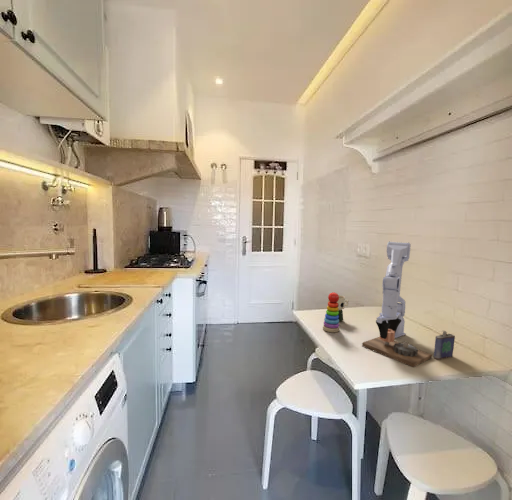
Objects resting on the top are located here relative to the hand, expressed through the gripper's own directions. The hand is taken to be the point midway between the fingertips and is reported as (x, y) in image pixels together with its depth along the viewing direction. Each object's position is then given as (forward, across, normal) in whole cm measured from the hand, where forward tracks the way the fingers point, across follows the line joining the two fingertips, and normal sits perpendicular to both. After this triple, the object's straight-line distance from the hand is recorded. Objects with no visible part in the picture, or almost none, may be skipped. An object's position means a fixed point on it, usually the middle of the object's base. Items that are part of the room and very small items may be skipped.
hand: (387, 336), depth 127 cm
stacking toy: (+5, +4, -27) cm, 28 cm away
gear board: (+5, 0, +4) cm, 7 cm away
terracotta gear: (+1, 0, 0) cm, 1 cm away
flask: (+5, -12, +17) cm, 21 cm away
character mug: (+5, -10, -35) cm, 37 cm away
